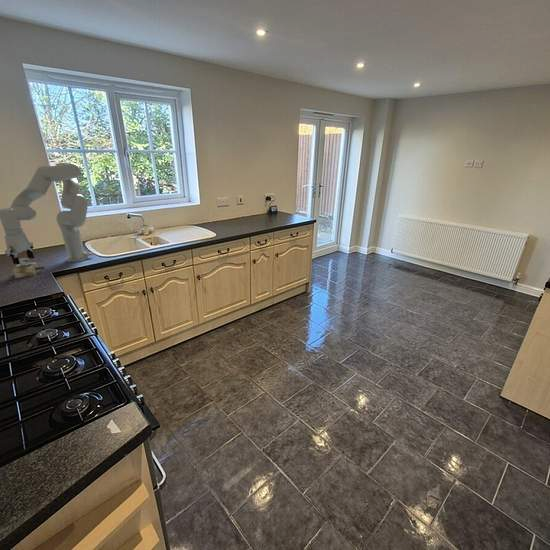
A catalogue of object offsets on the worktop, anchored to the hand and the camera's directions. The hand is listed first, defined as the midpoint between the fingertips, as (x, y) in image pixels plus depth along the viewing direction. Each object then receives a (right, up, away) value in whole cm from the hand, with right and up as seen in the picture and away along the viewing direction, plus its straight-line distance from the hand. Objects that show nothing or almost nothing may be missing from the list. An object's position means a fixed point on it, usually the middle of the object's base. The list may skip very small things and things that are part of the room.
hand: (24, 261), depth 169 cm
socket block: (+2, -7, +3) cm, 8 cm away
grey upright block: (0, -7, +3) cm, 8 cm away
